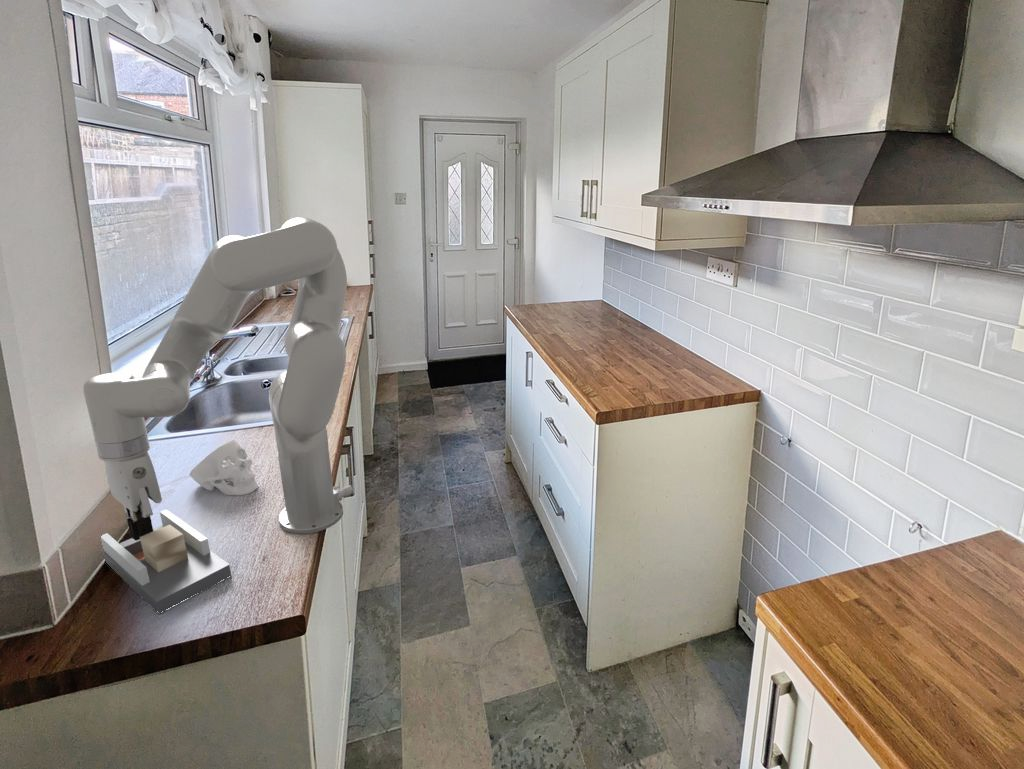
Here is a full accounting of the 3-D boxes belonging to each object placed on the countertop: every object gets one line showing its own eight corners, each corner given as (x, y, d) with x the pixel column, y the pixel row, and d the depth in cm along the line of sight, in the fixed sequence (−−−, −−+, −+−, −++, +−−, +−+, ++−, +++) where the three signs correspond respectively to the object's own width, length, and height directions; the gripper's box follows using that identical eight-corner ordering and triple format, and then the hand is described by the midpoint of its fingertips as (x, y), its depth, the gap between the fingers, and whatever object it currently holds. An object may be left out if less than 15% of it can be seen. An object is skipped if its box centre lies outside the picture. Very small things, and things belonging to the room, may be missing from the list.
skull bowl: (243, 498, 125) (210, 450, 123) (206, 518, 131) (174, 473, 129) (276, 475, 134) (246, 431, 132) (240, 495, 140) (211, 453, 139)
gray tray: (104, 562, 106) (97, 536, 104) (173, 532, 115) (167, 508, 113) (159, 614, 94) (152, 586, 92) (231, 576, 103) (226, 550, 101)
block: (174, 547, 106) (169, 524, 105) (188, 558, 103) (183, 534, 102) (145, 561, 103) (139, 537, 101) (158, 572, 100) (152, 547, 98)
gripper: (166, 449, 99) (183, 541, 105) (128, 426, 107) (146, 513, 113) (116, 464, 93) (138, 561, 99) (81, 439, 102) (102, 530, 108)
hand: (142, 535), depth 106 cm, fingers closed
